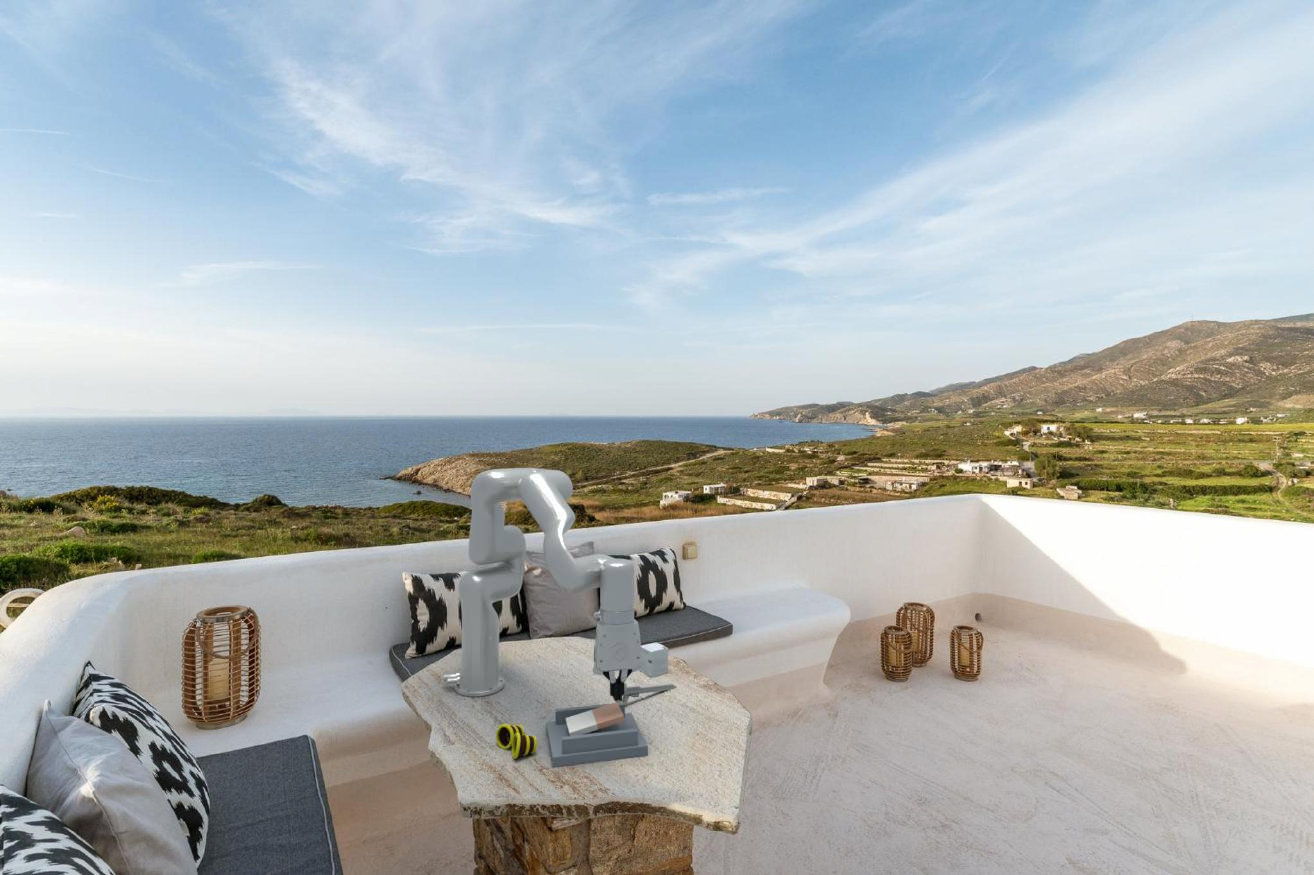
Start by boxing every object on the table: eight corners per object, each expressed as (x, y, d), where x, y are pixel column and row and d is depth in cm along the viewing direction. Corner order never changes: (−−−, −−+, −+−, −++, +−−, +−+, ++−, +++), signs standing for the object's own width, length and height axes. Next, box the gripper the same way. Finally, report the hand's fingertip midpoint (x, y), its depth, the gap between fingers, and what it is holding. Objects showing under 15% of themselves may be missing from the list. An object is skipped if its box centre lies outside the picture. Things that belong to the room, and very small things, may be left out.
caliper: (618, 710, 151) (618, 685, 151) (615, 709, 152) (616, 684, 152) (676, 688, 165) (677, 665, 165) (674, 687, 166) (674, 664, 166)
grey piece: (552, 767, 125) (553, 742, 125) (545, 730, 140) (546, 708, 140) (647, 755, 130) (648, 731, 130) (631, 721, 145) (631, 700, 145)
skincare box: (638, 671, 176) (639, 645, 176) (655, 666, 180) (656, 641, 180) (651, 678, 172) (651, 651, 172) (668, 673, 175) (668, 647, 175)
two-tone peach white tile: (570, 738, 130) (569, 733, 130) (566, 723, 137) (565, 718, 137) (624, 720, 133) (623, 715, 133) (618, 706, 140) (617, 701, 140)
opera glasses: (536, 760, 129) (541, 735, 130) (514, 763, 126) (519, 738, 127) (514, 742, 137) (519, 719, 137) (493, 744, 133) (497, 721, 134)
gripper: (586, 623, 130) (586, 709, 130) (654, 618, 134) (653, 701, 134) (581, 613, 138) (581, 695, 138) (645, 609, 142) (645, 688, 142)
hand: (617, 698), depth 136 cm, fingers closed
